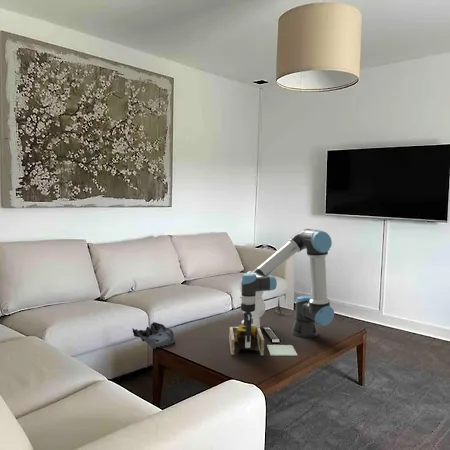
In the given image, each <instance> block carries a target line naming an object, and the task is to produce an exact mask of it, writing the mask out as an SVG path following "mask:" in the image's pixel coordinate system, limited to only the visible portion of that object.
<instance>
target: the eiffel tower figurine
mask: <svg viewBox="0 0 450 450" xmlns="http://www.w3.org/2000/svg"><path fill="white" fill-rule="evenodd" d="M277 301H278V302H277V306H276V307H277V308H276V309H275V310H274V312H273V313H274V314H275V315H276V316H283V315H284V314H285V315H286V316H291V315H292V313H287V312H283V311H282V310H281V305H280V299H277Z"/></svg>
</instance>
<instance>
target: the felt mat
mask: <svg viewBox="0 0 450 450" xmlns="http://www.w3.org/2000/svg"><path fill="white" fill-rule="evenodd" d="M266 347H267V349H268V353H269V355H270V356H271V357H274V356H276V357H298V353H297V352H296V349H295V348H294V346H293V345H292V344H266Z"/></svg>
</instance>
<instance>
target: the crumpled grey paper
mask: <svg viewBox="0 0 450 450" xmlns="http://www.w3.org/2000/svg"><path fill="white" fill-rule="evenodd" d="M131 330H132V333H133V336H134V337H135V338H140V340H141V341H142V342H145V343H147V344H148V345H149V347H150V349H152V350H153V349H157V348H156V347H158V346H163V345H167V346H169V345H171V343H172V342H173V343H176V337H175V334H174V331H173V329H171V328H168V327H166V326H165V325H164V324H162V323H159V322H156V321H153V322H152V323H151V324H150V327H148V326H146V328H145V330H143V329H142V330H141V329H139V330H138V329H137V328H136V329H134V328H133V327H132V329H131ZM163 347H164V346H163Z"/></svg>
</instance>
